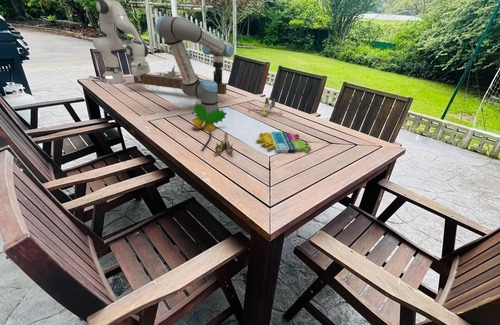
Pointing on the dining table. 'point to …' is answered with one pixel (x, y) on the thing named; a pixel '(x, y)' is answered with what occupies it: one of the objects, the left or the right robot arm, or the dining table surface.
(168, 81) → the bar
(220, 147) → the jawbone
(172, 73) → the airplane
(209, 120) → the ornament
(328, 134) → the dining table surface
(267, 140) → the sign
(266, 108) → the toy
